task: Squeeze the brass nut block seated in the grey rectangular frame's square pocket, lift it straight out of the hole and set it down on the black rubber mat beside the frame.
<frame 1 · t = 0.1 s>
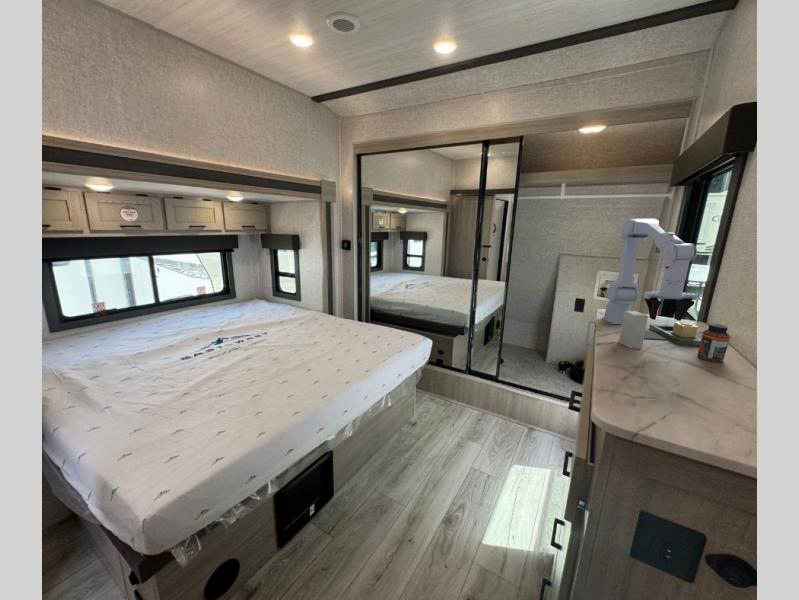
hand: (664, 319, 104), 10 cm above the countertop, fingers open, 7 cm apart
supplement bottle: (709, 359, 97), on the countertop
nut: (682, 341, 111), resting in grey rectangular frame
mat: (645, 335, 117), on the countertop
grey rectangular frame: (674, 337, 115), on the countertop
skincare box: (629, 346, 108), on the countertop
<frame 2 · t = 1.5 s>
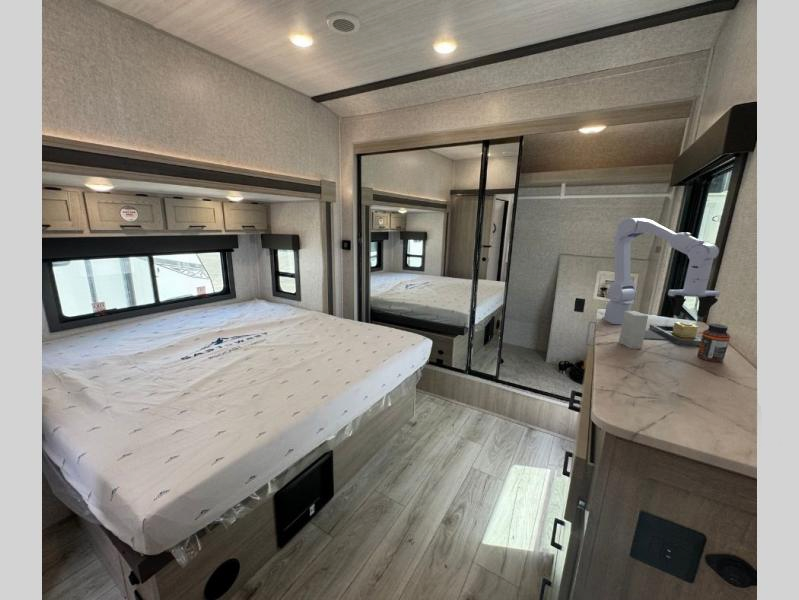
hand: (688, 315, 109), 10 cm above the countertop, fingers open, 7 cm apart
nothing on the countertop moved.
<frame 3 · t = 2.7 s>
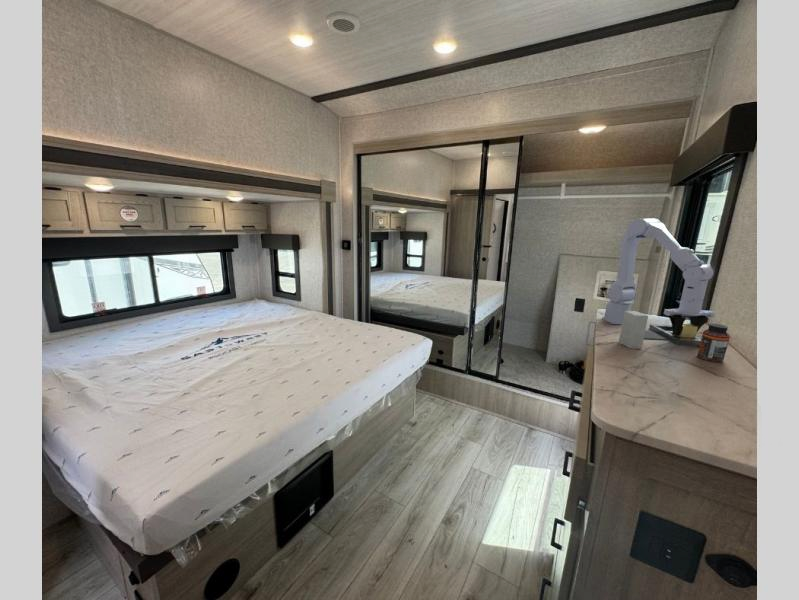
hand: (683, 334, 111), 2 cm above the countertop, fingers closed on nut, 4 cm apart
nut: (682, 341, 111), resting in grey rectangular frame, touching gripper
everything else where it was.
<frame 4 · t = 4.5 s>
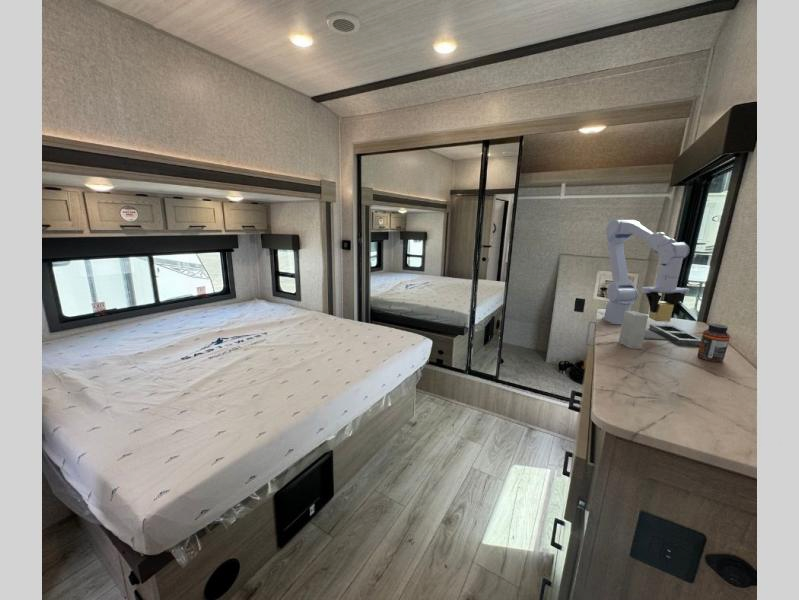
hand: (660, 312, 114), 10 cm above the countertop, fingers closed on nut, 4 cm apart
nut: (659, 319, 114), point 7 cm above the countertop, touching gripper
everything else where it was.
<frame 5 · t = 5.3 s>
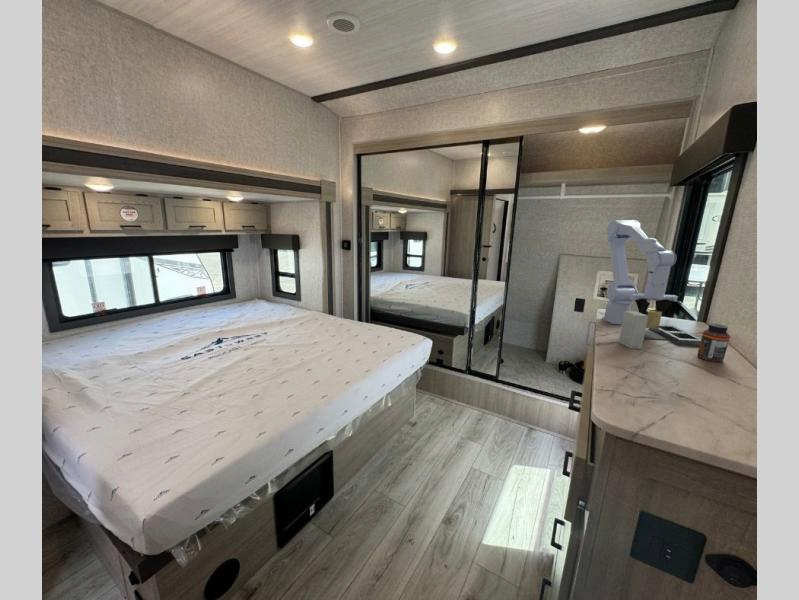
hand: (649, 318, 116), 7 cm above the countertop, fingers closed on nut, 4 cm apart
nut: (648, 326, 116), point 4 cm above the countertop, touching gripper
everything else where it was.
when the fingers open (4 cm above the countertop, at t = 6.2 s): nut drops 1 cm, resting on mat.
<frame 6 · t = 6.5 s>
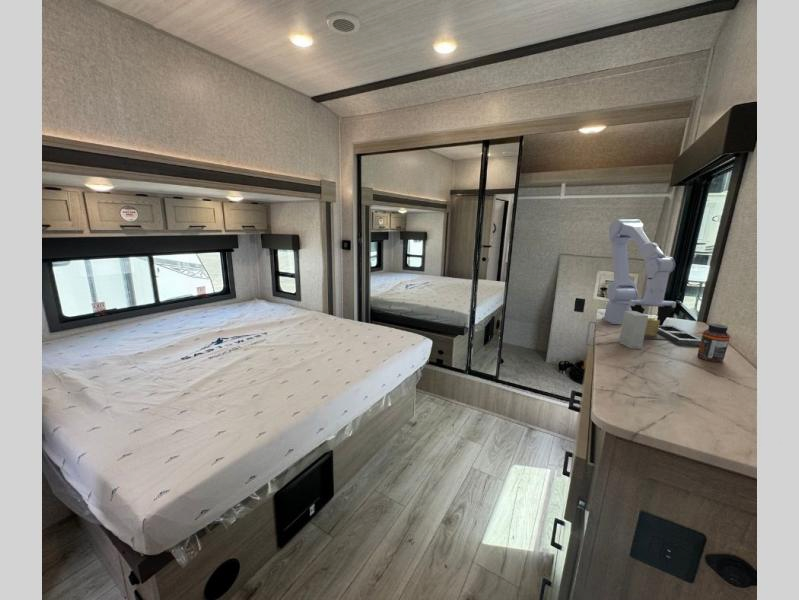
hand: (648, 324, 116), 4 cm above the countertop, fingers open, 7 cm apart
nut: (646, 334, 117), resting on mat
everything else where it was.
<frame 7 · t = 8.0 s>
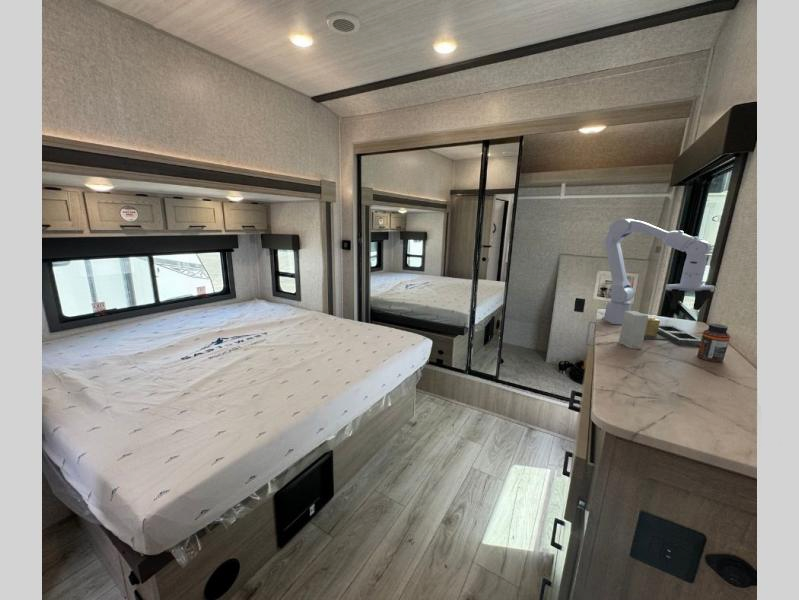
hand: (684, 309, 115), 10 cm above the countertop, fingers open, 7 cm apart
nothing on the countertop moved.
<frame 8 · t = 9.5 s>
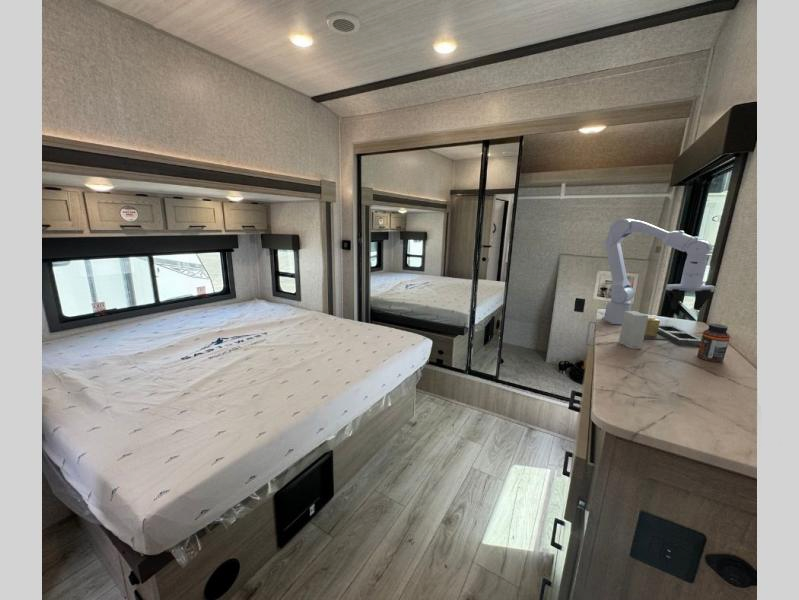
hand: (685, 309, 115), 10 cm above the countertop, fingers open, 7 cm apart
nothing on the countertop moved.
at the end: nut inside the target area on the mat (0.2 cm from its centre), point 0.4 cm above the mat's base; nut tilted 0°; the gripper is holding nothing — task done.
